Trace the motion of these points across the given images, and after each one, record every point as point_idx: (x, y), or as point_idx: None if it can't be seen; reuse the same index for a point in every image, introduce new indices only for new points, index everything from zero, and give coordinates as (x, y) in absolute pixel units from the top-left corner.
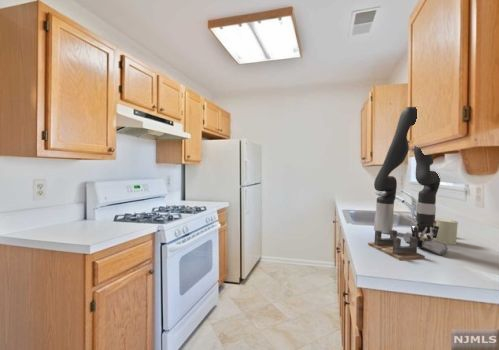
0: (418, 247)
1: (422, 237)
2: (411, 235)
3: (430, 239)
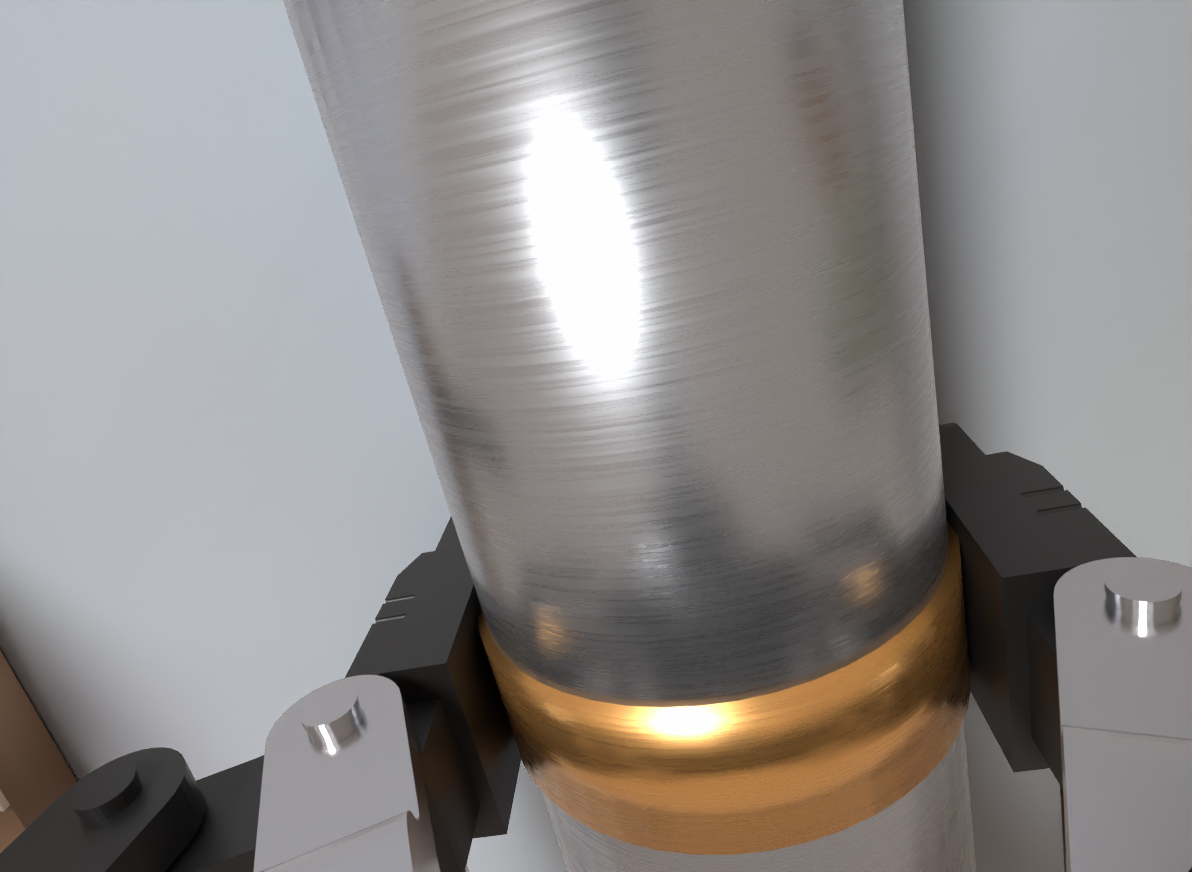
0: None
1: (682, 723)
2: (373, 66)
3: (1052, 748)
